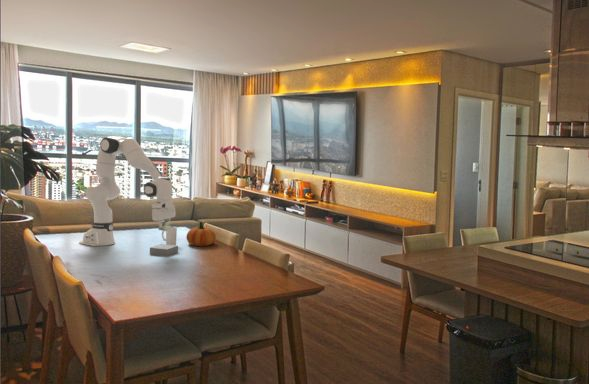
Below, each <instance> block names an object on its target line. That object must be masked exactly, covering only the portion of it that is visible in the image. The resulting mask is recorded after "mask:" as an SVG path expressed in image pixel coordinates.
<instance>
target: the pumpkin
mask: <svg viewBox="0 0 589 384" xmlns="http://www.w3.org/2000/svg"><path fill="white" fill-rule="evenodd" d="M216 240H217V234H216V233H215V231H214V230H213V229H212V228H210V227H209V226H208V227H207V226H206V227H205V226H204V225H203V222H202V221H200V222H199V227H198V226H196V227H192V228H191V229H190V230H188V232H187V233H186V241H187V243H188V244H189V245H191V246H196V247H207V246H209V245H213V244H214V243H215V242H216Z"/></svg>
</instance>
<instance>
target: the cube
mask: <svg viewBox="0 0 589 384" xmlns="http://www.w3.org/2000/svg"><path fill="white" fill-rule="evenodd" d="M162 224H163V227H162V228H161V227H159V226H158V231H163V230H164V232H166V230H170V227H171V220H170V221H167V220H162Z"/></svg>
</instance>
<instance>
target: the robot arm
mask: <svg viewBox="0 0 589 384" xmlns="http://www.w3.org/2000/svg"><path fill="white" fill-rule="evenodd" d="M118 155H124V157H125V159H126V161H127V163H128V164H129V165H130V166H131V167H133V168H135V169H138V170H141V171H144V172H146V173H147V174H148V175H149V176H150V177H151V179H152V181H151V180H150V181H147V182H146V183H145V184H144V185H143V186H144V187H143V193H144V196H146V197H147V198H156V201H154V202H153V203H152V204H151V208H152V210H151V218H152V221H154V222H158V228H159V227H161V228H162V227H163V224H162V221H170V222H171V219H173V218H176V215H177V213H176V206H175V204H174V202H173V197H172V192H173V183H172V179H171V178H170V177H168V176H164V175H163V174H162V173H161V171H160V170H159V168H158V167H157V166H156V164H155V163H154V162H153V161H152V160H151V159H150V158H149V157H148V156H147V155H146V153H145V152H144V150H143V148H142V147H141V145H140V144H139V143H138V141H137V140H136V139H135V138H133V137H126V136H105V137H103V138H102V139H101V141H100V147H99V150H98V154H97V157H96V168H95V174H96V177H98V178H99V183H97V184H93V185H90V186H88V187H87V188H86V190H85V197H86V199H87V200H88V201H89V202H90V203H91V206H92V208H93V222H92V223H90V226H91V228H90V229H89V230H87V231H86V232H85V233H84V234H83V236H82V238H83V239H82V240H80V241H79V242H78V244H80V245H81V244H82V245H87V246H92V247H99V246H111V245H114V244H115V243H116V241H115V237H114V221H113V209H112V208H111V207H110V206H109V203H108V201H111V200H114V199H117V198H118V197H119V196H120V194H121V189H120V187H119V185H118V184H117V182H116V178H115V171H116V159H117V156H118Z"/></svg>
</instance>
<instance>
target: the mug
mask: <svg viewBox="0 0 589 384" xmlns="http://www.w3.org/2000/svg"><path fill="white" fill-rule="evenodd" d="M177 228H178V227H177V226H170V230H166V231H164V230H161V238H162V240H163V241H164V242H165V244H166V245H176V246H177V235H178V234H177V233H178V229H177ZM164 233H165V235H164Z"/></svg>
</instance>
